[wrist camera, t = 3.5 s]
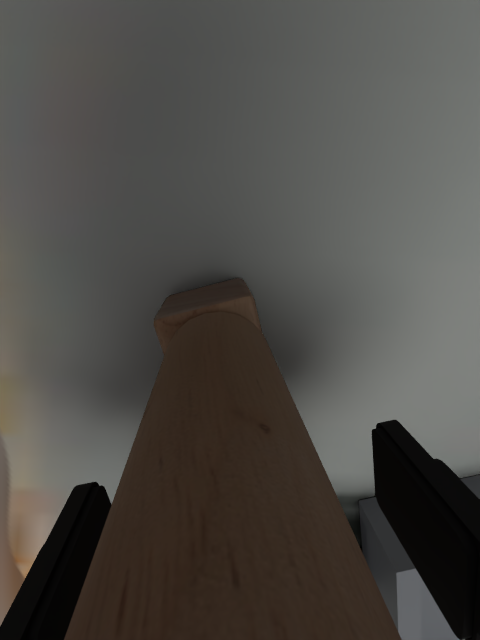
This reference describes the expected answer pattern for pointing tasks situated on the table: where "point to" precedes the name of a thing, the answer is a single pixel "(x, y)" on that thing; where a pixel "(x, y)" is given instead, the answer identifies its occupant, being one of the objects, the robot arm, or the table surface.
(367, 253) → the table surface
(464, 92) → the table surface
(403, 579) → the tray
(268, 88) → the table surface
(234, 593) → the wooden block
